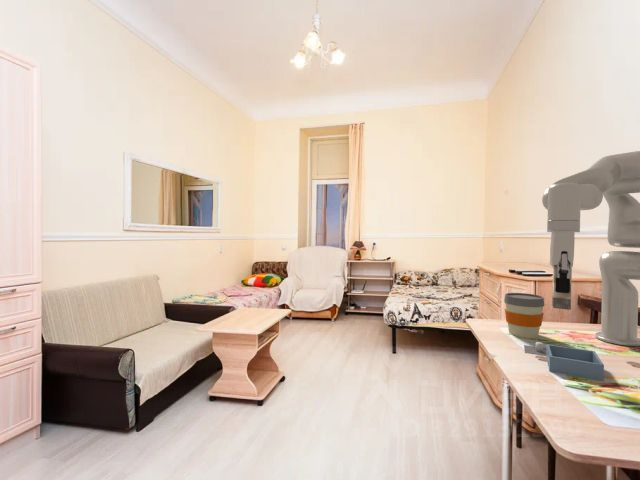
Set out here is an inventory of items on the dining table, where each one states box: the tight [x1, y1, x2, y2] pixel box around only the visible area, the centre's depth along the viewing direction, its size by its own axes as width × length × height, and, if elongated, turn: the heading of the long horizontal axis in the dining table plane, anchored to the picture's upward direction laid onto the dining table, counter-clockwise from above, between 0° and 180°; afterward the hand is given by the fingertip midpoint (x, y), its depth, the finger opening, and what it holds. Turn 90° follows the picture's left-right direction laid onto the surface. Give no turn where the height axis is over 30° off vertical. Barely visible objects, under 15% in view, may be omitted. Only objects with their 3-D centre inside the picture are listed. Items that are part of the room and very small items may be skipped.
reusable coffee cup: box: [503, 292, 545, 339], centre depth 122 cm, size 12×13×15 cm
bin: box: [545, 343, 605, 382], centre depth 91 cm, size 11×11×5 cm
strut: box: [551, 265, 573, 311], centre depth 95 cm, size 4×4×12 cm
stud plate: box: [523, 341, 546, 357], centre depth 104 cm, size 8×8×4 cm
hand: (561, 290), depth 95 cm, fingers closed on strut, 4 cm apart
